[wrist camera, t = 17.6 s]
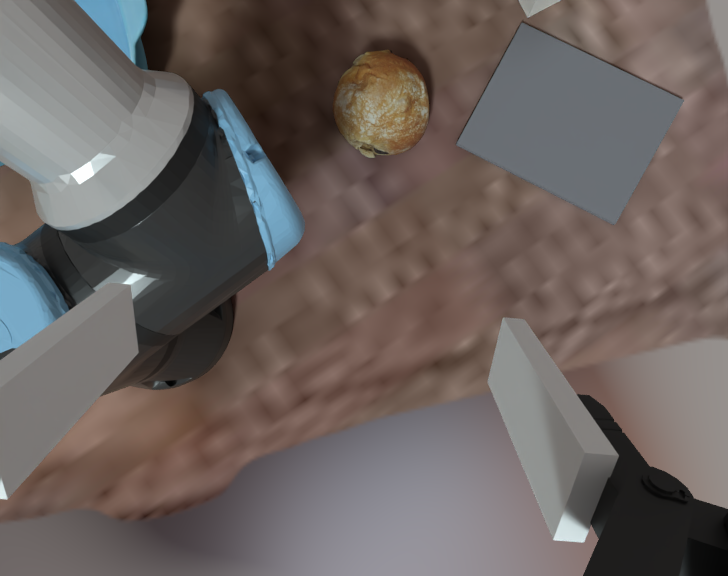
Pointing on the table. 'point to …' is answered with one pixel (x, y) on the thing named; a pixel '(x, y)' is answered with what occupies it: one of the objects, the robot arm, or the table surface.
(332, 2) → the table surface
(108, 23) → the casserole dish
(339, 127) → the bread roll
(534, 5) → the box cover
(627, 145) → the rubber mat
